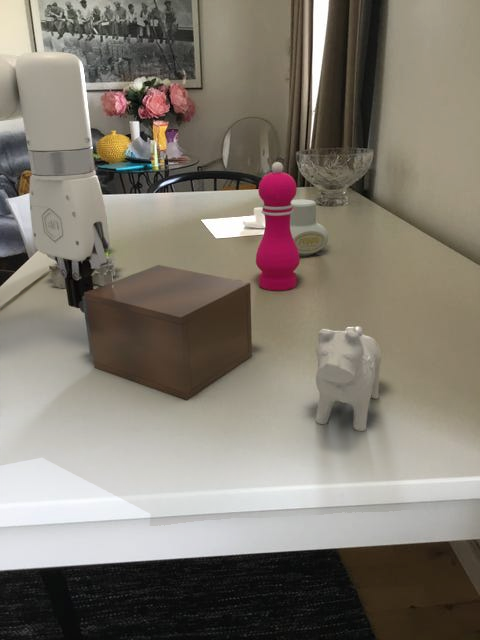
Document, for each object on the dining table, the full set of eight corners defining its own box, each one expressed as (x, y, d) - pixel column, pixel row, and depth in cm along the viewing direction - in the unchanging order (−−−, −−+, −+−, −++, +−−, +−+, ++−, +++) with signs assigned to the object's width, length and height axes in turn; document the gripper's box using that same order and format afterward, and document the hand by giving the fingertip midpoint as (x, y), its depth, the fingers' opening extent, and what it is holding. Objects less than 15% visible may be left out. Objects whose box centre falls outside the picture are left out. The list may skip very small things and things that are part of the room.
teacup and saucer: (245, 231, 130) (245, 213, 129) (237, 223, 138) (237, 207, 136) (281, 228, 132) (281, 210, 131) (272, 221, 139) (272, 204, 138)
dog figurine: (301, 444, 53) (303, 340, 49) (334, 380, 64) (337, 291, 60) (358, 455, 51) (365, 348, 47) (382, 388, 62) (388, 297, 58)
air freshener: (316, 244, 118) (317, 196, 114) (334, 254, 111) (336, 203, 107) (267, 250, 115) (266, 200, 111) (282, 260, 108) (282, 208, 104)
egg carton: (49, 289, 96) (45, 266, 94) (59, 276, 103) (55, 254, 101) (112, 286, 96) (109, 263, 95) (118, 273, 103) (115, 251, 102)
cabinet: (94, 367, 68) (83, 292, 65) (164, 331, 78) (158, 264, 74) (186, 400, 61) (180, 317, 57) (252, 356, 70) (250, 282, 66)
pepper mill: (293, 276, 99) (294, 158, 91) (304, 290, 92) (306, 163, 85) (252, 279, 98) (250, 160, 90) (261, 293, 91) (259, 166, 83)
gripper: (-1, 164, 70) (24, 302, 77) (79, 171, 62) (98, 325, 69) (49, 157, 76) (68, 287, 83) (128, 163, 68) (142, 306, 75)
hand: (82, 304), depth 76 cm, fingers closed
